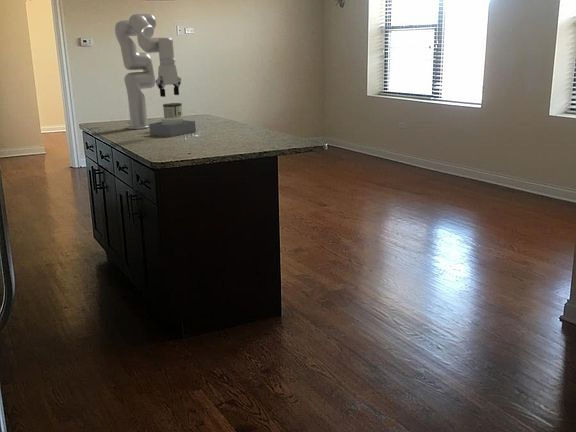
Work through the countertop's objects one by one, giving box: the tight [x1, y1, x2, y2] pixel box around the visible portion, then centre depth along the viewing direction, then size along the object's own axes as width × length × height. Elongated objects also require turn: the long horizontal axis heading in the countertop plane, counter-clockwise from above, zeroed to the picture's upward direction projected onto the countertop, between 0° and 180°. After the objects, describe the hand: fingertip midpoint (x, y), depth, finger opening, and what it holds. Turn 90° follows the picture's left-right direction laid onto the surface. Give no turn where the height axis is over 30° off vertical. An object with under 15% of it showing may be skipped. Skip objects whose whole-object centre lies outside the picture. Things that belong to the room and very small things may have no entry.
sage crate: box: [160, 117, 184, 125], centre depth 338 cm, size 9×7×7 cm
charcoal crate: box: [148, 119, 197, 137], centre depth 338 cm, size 16×18×6 cm
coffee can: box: [162, 102, 183, 119], centre depth 356 cm, size 10×10×14 cm
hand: (169, 95), depth 334 cm, fingers open, 9 cm apart
